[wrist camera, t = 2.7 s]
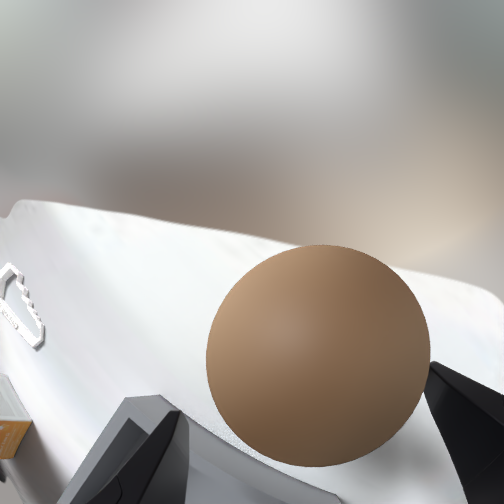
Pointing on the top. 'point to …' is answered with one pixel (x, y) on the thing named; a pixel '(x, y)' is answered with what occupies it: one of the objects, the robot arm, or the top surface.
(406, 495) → the top surface
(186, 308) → the top surface
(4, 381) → the small box
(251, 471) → the grey tote
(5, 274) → the saw cookie cutter
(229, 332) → the brown cylinder
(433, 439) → the top surface
